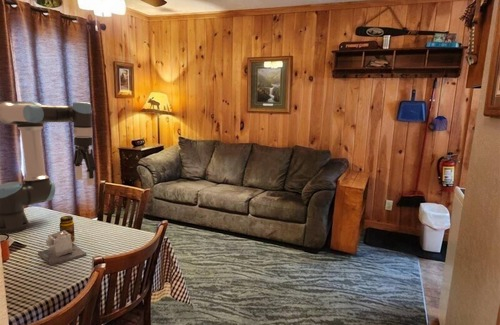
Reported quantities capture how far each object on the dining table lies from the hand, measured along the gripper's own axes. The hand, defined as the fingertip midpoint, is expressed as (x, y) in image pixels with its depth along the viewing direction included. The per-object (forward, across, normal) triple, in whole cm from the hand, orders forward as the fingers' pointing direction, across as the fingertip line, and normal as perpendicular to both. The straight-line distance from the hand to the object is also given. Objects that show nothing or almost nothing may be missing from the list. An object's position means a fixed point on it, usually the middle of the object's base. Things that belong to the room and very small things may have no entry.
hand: (84, 182), depth 153 cm
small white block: (+28, +7, -13) cm, 32 cm away
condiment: (+30, -7, -7) cm, 31 cm away
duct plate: (+29, +7, -13) cm, 33 cm away
